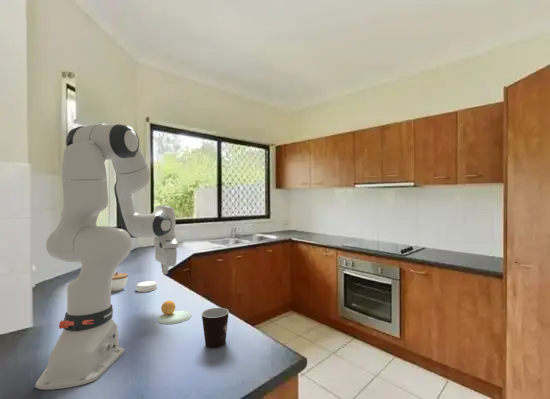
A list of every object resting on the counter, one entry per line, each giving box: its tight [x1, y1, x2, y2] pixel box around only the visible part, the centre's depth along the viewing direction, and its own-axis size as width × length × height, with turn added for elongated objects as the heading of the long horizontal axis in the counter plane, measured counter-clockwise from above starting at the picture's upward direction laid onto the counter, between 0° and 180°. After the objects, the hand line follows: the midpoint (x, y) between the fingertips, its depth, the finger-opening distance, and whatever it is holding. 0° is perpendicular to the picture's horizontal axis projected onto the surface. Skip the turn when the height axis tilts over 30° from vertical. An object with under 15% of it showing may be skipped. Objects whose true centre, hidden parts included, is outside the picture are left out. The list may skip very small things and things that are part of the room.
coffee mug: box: [201, 307, 230, 349], centre depth 93 cm, size 12×9×10 cm
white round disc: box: [136, 280, 158, 293], centre depth 153 cm, size 10×10×4 cm
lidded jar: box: [111, 271, 128, 292], centre depth 153 cm, size 11×11×9 cm
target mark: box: [156, 310, 192, 325], centre depth 114 cm, size 13×13×1 cm
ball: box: [160, 300, 176, 315], centre depth 117 cm, size 6×6×6 cm
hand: (164, 273), depth 125 cm, fingers closed
